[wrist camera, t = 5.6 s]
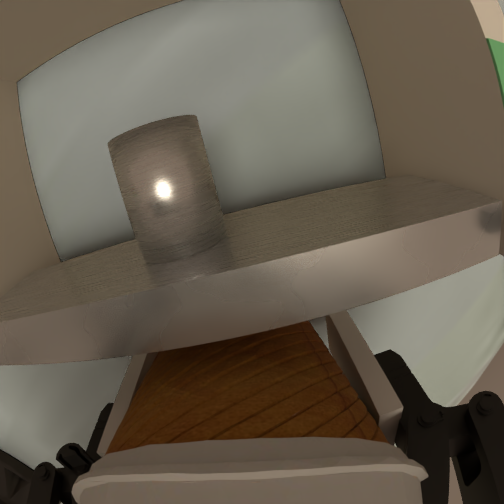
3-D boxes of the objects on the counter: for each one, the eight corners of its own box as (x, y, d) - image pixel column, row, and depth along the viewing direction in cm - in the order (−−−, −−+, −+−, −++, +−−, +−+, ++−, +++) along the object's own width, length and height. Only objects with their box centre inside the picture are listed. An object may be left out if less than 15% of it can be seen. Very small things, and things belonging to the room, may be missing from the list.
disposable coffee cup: (217, 406, 17) (214, 580, 6) (116, 297, 14) (3, 503, 3) (354, 344, 16) (441, 525, 5) (278, 200, 13) (455, 459, 2)
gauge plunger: (45, 300, 11) (-27, 382, 5) (9, 205, 9) (-90, 252, 4) (448, 202, 10) (555, 248, 5) (433, 92, 9) (549, 81, 3)
